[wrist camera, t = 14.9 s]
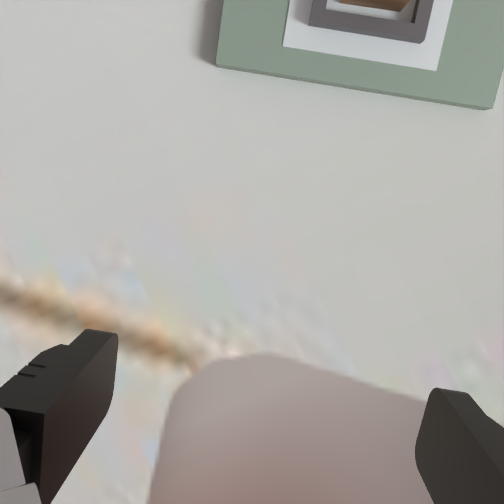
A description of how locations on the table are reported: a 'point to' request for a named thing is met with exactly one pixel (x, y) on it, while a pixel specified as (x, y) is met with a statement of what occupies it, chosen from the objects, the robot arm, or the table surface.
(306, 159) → the table surface
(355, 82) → the foundation board
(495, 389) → the table surface
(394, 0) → the walnut block
